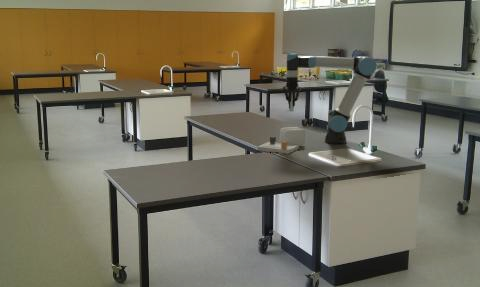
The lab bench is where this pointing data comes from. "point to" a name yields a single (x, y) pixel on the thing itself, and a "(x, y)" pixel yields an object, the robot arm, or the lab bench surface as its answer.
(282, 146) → the orange fader
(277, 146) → the mixing board
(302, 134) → the cable organizer
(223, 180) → the lab bench surface
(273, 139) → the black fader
